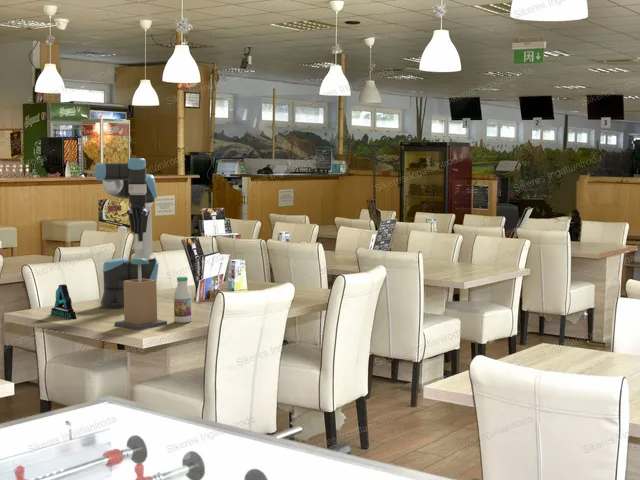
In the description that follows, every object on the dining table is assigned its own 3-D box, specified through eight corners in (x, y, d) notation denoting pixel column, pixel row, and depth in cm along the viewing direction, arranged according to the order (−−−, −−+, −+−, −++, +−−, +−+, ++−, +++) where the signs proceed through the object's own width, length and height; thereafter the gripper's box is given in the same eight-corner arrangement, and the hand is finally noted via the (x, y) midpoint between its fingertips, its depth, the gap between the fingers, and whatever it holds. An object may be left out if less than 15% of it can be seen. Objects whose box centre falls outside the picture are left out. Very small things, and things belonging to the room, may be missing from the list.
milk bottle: (175, 320, 401) (174, 275, 399) (192, 319, 402) (191, 275, 400) (173, 323, 393) (172, 278, 391) (191, 323, 394) (190, 278, 392)
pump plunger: (128, 303, 389) (127, 259, 387) (142, 301, 394) (141, 257, 393) (142, 305, 383) (141, 260, 381) (155, 303, 388) (154, 259, 386)
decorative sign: (76, 319, 406) (75, 286, 404) (71, 320, 404) (70, 287, 402) (55, 314, 419) (54, 282, 417) (50, 314, 417) (49, 283, 416)
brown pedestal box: (114, 325, 390) (113, 281, 388) (144, 320, 401) (143, 277, 400) (137, 329, 379) (135, 284, 377) (167, 324, 391) (166, 280, 389)
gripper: (121, 194, 386) (122, 248, 388) (139, 194, 377) (141, 250, 380) (135, 193, 392) (136, 247, 394) (154, 194, 383) (155, 249, 385)
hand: (139, 248), depth 387 cm, fingers closed
